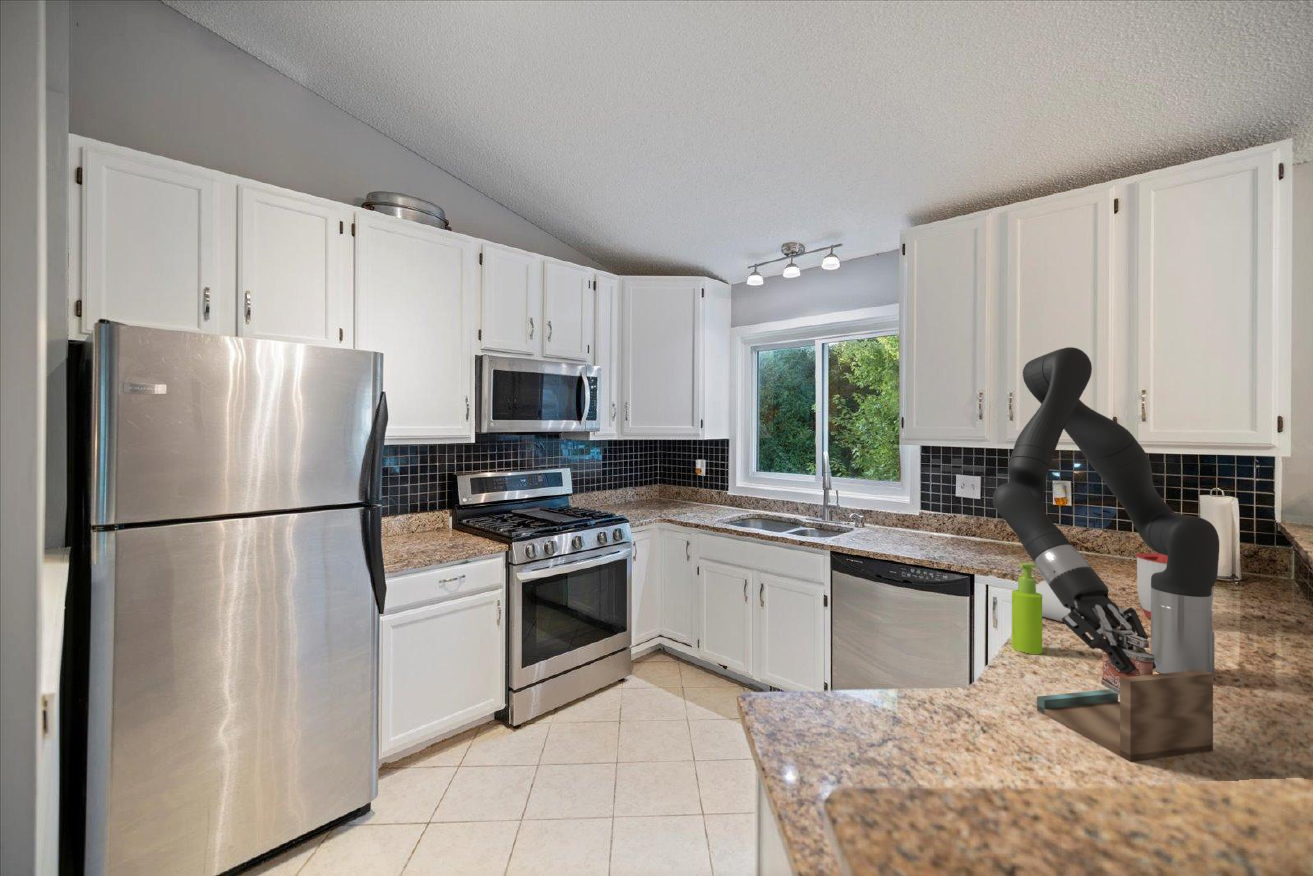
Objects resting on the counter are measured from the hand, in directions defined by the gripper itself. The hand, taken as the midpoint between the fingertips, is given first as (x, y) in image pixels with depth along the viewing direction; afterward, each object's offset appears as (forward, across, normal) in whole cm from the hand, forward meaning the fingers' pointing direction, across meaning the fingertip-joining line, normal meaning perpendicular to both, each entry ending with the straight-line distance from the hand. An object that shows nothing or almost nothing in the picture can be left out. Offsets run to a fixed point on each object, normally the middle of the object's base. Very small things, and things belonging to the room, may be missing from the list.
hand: (1139, 670), depth 88 cm
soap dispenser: (-18, +17, +34) cm, 42 cm away
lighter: (+2, 0, +5) cm, 5 cm away
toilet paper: (-29, +44, +46) cm, 70 cm away
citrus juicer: (-25, +74, +42) cm, 88 cm away
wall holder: (+5, +1, +11) cm, 12 cm away
